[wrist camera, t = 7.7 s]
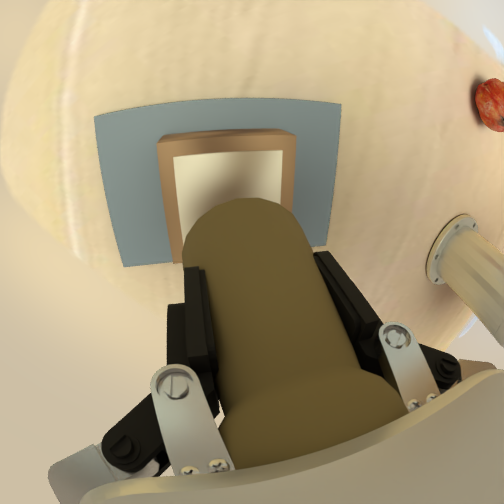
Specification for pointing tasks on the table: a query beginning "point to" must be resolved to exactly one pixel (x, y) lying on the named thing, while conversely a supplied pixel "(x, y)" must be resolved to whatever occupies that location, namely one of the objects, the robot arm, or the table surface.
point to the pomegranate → (491, 103)
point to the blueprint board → (205, 119)
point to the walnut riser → (222, 173)
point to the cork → (279, 339)
